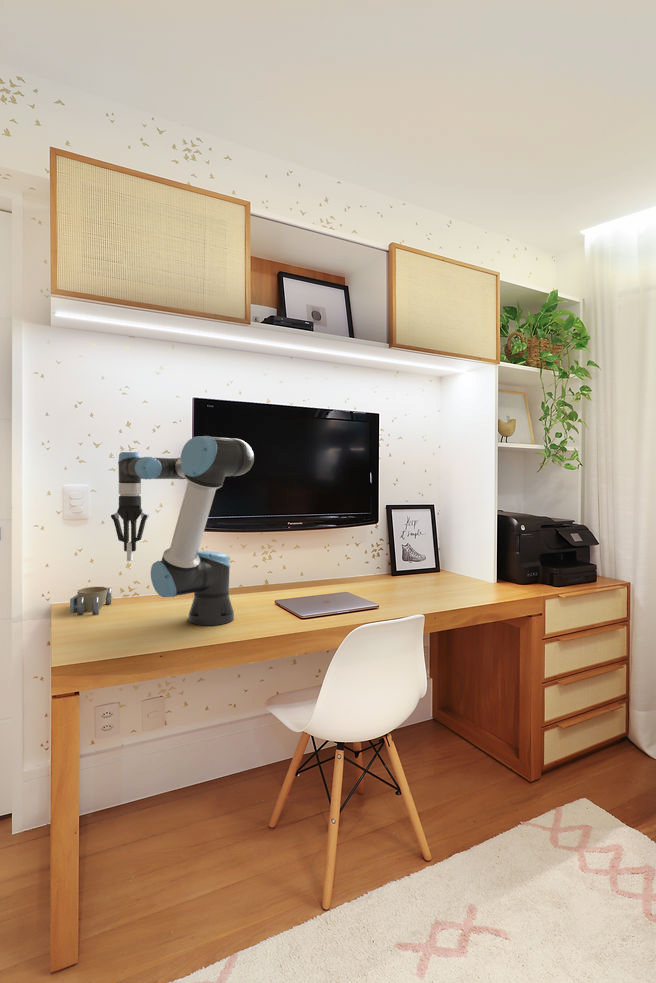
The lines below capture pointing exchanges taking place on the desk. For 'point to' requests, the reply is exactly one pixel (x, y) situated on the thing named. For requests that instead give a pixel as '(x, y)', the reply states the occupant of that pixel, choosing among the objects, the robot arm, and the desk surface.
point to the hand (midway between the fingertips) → (130, 560)
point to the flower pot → (90, 593)
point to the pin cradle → (78, 604)
